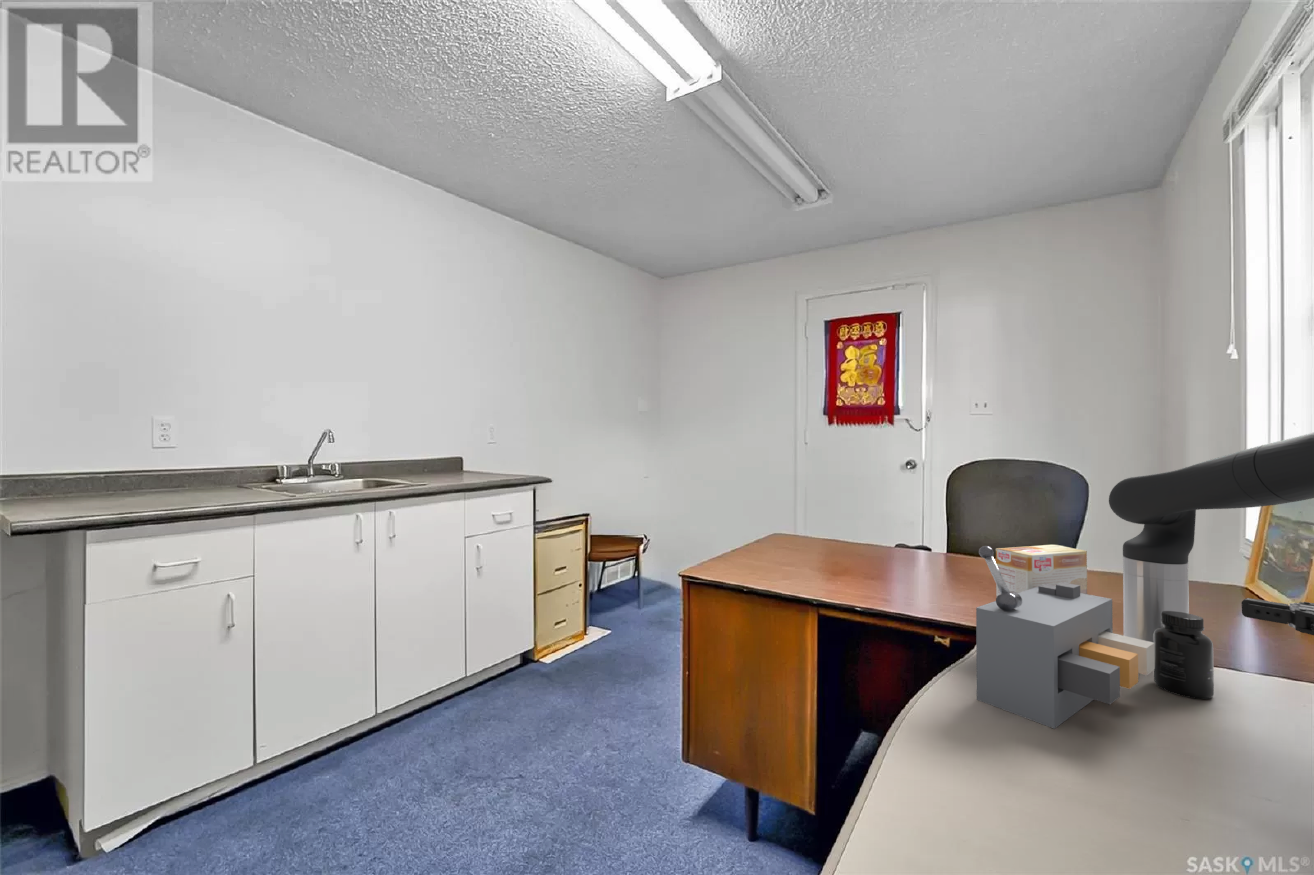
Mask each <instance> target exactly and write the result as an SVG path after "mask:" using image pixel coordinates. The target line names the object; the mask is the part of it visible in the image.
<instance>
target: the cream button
mask: <svg viewBox="0 0 1314 875" xmlns="http://www.w3.org/2000/svg"><path fill="white" fill-rule="evenodd" d="M1098 644H1100V645H1104V646H1108V647H1112V648H1116V649H1120V650H1124V651H1128V652H1132V653H1136V654H1138V674H1140V675H1145V676H1148V675H1149V674H1150V673H1152V672H1154V669H1155V648H1154V643H1153V642H1149V641H1145V640H1140V639H1136V638H1132V637H1127V636H1124V634H1120V633H1119V634H1118V633H1114V632H1113V633H1110V632H1106V631H1103V632H1101V633H1099V634H1098Z"/></svg>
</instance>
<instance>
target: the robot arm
mask: <svg viewBox="0 0 1314 875" xmlns="http://www.w3.org/2000/svg"><path fill="white" fill-rule="evenodd" d="M1312 499H1314V432H1309V433H1306V434H1303V435H1299V436H1296V437H1295V436H1294V437H1291V438H1287V439H1283V440H1279V441H1273V442H1269V443H1266V444H1262V445H1258V446H1254V447H1249V448H1246V449H1243V450H1240V451H1236V452H1233V453H1230V454H1226V455H1222V456H1219V457H1216V458H1212V459H1211V458H1210V459H1208V460H1205V461H1202V462H1199V463H1195V464H1192V465H1189V466H1185V467H1182V468H1180V469H1174V470H1171V471H1166V472H1160V473H1154V474H1148V475H1147V474H1146V475H1141V476H1140V475H1139V476H1133V477H1132V476H1130V477H1126V478H1125V479H1123V480H1121V481H1119V482H1118V483H1116V484H1115V485H1114V486H1113V487H1112V489H1111V491H1110V493H1109V495H1108V505H1109V507H1110V510H1111V511H1112V512H1113V513H1114V514H1115V515H1116V516H1117V517H1119V518H1120V519H1122V520H1124V521H1126V522H1129V523H1132V524H1137V525H1143V528H1142V530H1141V532H1139V533H1138V534H1137V535H1136V536H1135V537H1132V538H1130V539H1128V540H1126V541H1124V542H1123V545H1122V577H1123V578H1122V579H1123V580H1122V583H1123V584H1122V589H1123V590H1122V592H1123V593H1122V594H1123V595H1122V596H1123V599H1122V600H1123V613H1122V614H1123V625H1122V627H1123V636H1127V637H1132V638H1136V639H1140V640H1145V641H1149V642H1153V634H1154V631H1155V630H1156V629H1157V628H1159V627H1163V624H1162V623H1161V619H1162V617H1161V613H1162V612H1163V611H1176V612H1183V613H1188V614H1190V604H1189V602H1190V593H1189V591H1190V590H1189V583H1190V582H1189V581H1190V580H1189V555H1190V553H1192V552H1191V551H1192V549H1194V544H1195V534H1196V532H1195V530H1196V515H1197V510H1198V511H1199V510H1229V509H1246V508H1247V509H1248V508H1249V509H1250V508H1257V507H1258V508H1261V507H1267V506H1269V507H1271V506H1276V505H1277V506H1278V505H1283V504H1289V503H1295V502H1302V501H1307V500H1312ZM1241 613H1242V616H1244V617H1245V618H1249V619H1255V620H1261V621H1265V622H1266V621H1267V622H1271V623H1279V624H1283V625H1288V626H1289V627H1291V628H1293V629H1294V630H1295V631H1297V632H1300V633H1302V634H1308V635H1311V636H1314V602H1310V601H1309V602H1308V601H1303V602H1302V601H1300V602H1298V603H1297V602H1294V603H1292V602H1291V603H1289V604H1288V603H1282V602H1276V601H1270V600H1269V601H1268V600H1263V599H1256V598H1250V597H1247V598H1244V599H1243V600H1242V601H1241Z"/></svg>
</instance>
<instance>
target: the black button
mask: <svg viewBox="0 0 1314 875" xmlns="http://www.w3.org/2000/svg"><path fill="white" fill-rule="evenodd" d="M1058 688H1060V689H1063V690H1066V691H1069V692H1073V693H1076V694H1079V695H1082V696H1085V697H1088V698H1091V699H1094V700H1093V701H1097V702H1101V703H1104V704H1108V705H1111V704H1112V703H1114V702H1115V701H1117V700H1118V699H1119V698H1121V686H1120V667H1119V666H1115V665H1111V664H1108V663H1104V662H1100V661H1097V660H1093V659H1089V658H1086V657H1082V656H1078V655H1074V654H1071V653H1067V652H1064V653H1063V654H1061V655H1059V656H1058Z"/></svg>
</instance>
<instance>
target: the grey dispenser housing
mask: <svg viewBox="0 0 1314 875" xmlns="http://www.w3.org/2000/svg"><path fill="white" fill-rule="evenodd" d="M1018 594H1019V595H1020V596H1021V598H1022V604H1021V606H1019V607H1017V608H1014V609H1012V610H1009V611H1005V610H1002V609H1000V608H999V607H998V606H997V604H996V600H995V601H992V602H989V603H986V604H982V605H980V606H977V607H976V609H975V610H976V612H975V614H976V618H975V620H976V621H975V622H976V623H975V625H976V627H975V628H976V629H975V631H976V634H975V636H976V637H975V638H976V640H975V641H976V645H975V646H976V653H975V654H976V655H975V656H976V700H977V701H980V702H983V703H985V704H988V705H990V706H993V707H995V708H999V709H1000V710H1003V711H1006V712H1009V713H1012V714H1015V715H1018V716H1019V717H1022V718H1024V719H1028V720H1030V721H1034V722H1036V723H1038V724H1041V725H1043V726H1046V727H1048V728H1051V729H1056V728H1057V727H1059V726H1060V725H1061V724H1063V723H1064V722H1066V721H1067V720H1069V719H1070V718H1071V717H1072V716H1074V715H1075V714H1076V713H1077V712H1079V711H1081V710H1082V709H1083V708H1084V707H1086V706H1087V705H1089V704H1090V703H1091V702H1093V701H1095V700H1094V699H1091V698H1088V697H1085V696H1082V695H1079V694H1076V693H1073V692H1069V691H1066V690H1063V689H1060V688H1058V656H1059V655H1061V654H1063V653H1064V652H1067V653H1071V654H1074V655H1078V656H1079V644H1081V643H1083V642H1084V641H1088V642H1092V643H1096V644H1098V634H1099V633H1101V632H1103V631H1106V632H1110V633H1114V631H1113V598H1109V597H1105V596H1104V597H1103V596H1098V595H1094V594H1088V593H1087V594H1083V593H1080V585H1075V584H1070V583H1064V582H1062V583H1059V584H1057V585H1056V586H1055V585H1049V584H1044V585H1041V586H1038V587H1035V588H1032V589H1029V590H1026V591H1023V592H1020V593H1018Z"/></svg>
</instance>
